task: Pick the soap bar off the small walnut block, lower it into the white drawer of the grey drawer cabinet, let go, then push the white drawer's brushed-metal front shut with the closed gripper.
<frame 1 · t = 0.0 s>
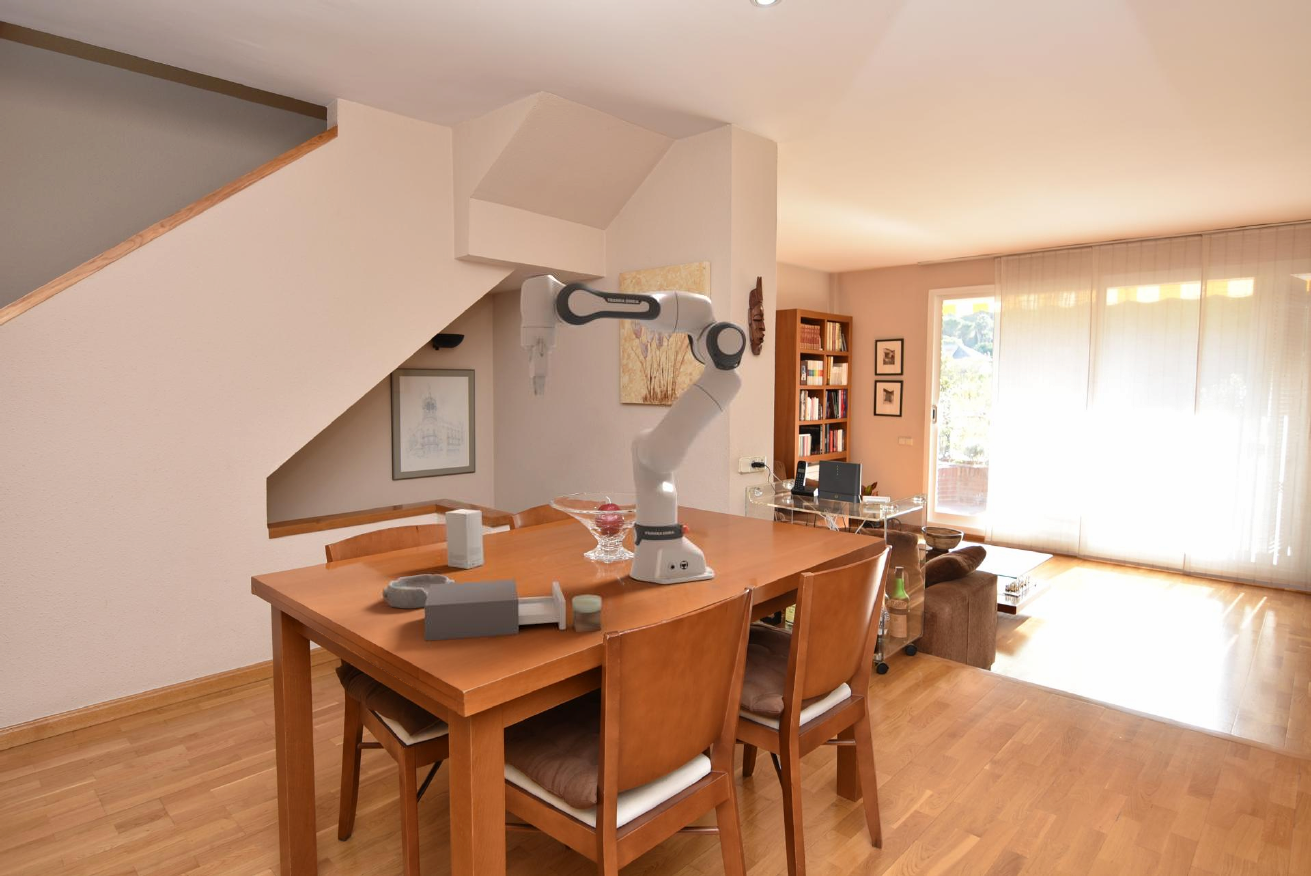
hand: (538, 395, 181), 48 cm above the table, fingers open, 8 cm apart
skincare box: (464, 566, 202), on the table
white drawer: (519, 607, 152), point 3 cm above the table, slide at 8.0 cm
grey drawer cabinet: (473, 624, 150), on the table
walnut block: (586, 627, 149), on the table
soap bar: (586, 608, 148), point 4 cm above the table, touching walnut block
dish: (417, 602, 167), on the table
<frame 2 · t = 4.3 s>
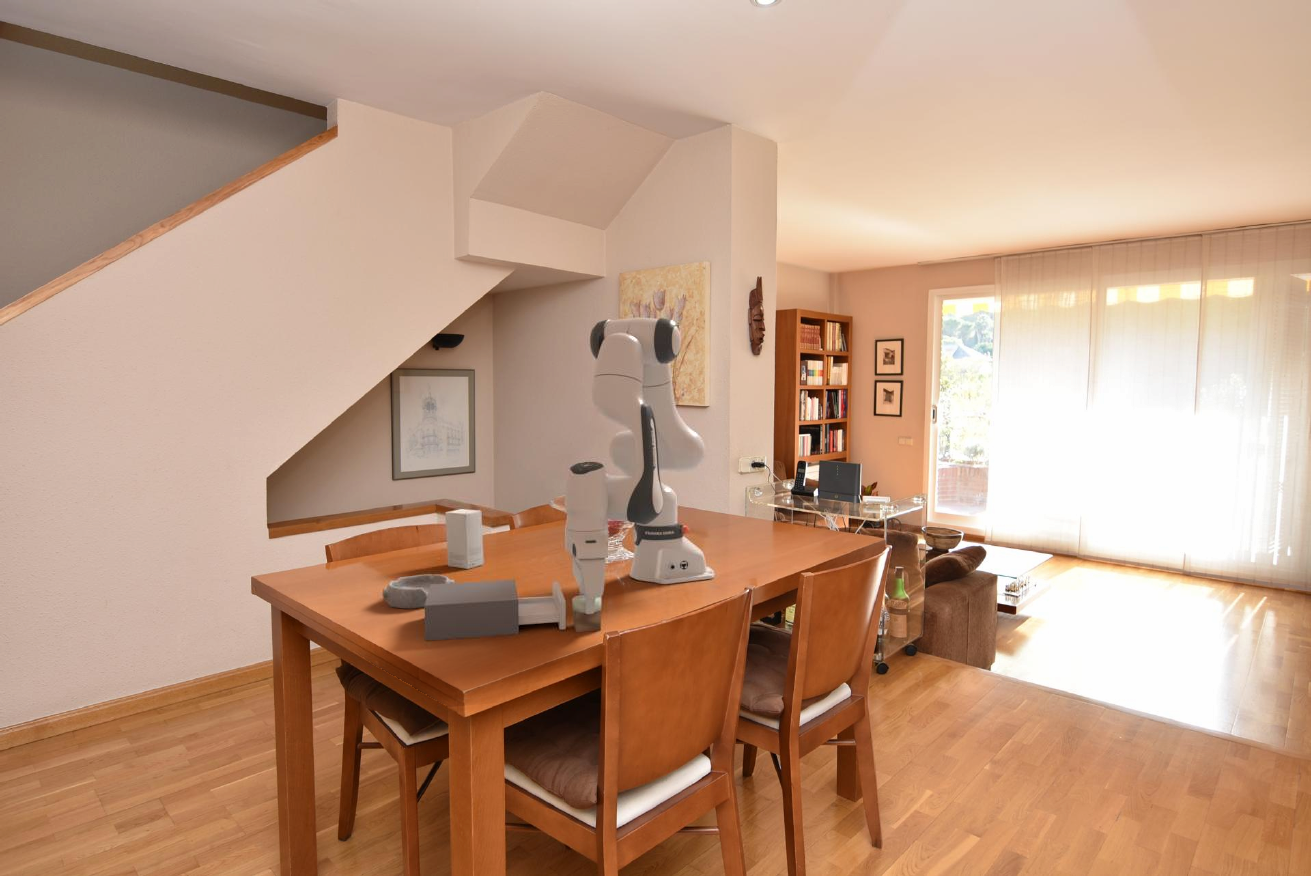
hand: (586, 607, 148), 4 cm above the table, fingers closed on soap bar, 6 cm apart
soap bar: (586, 608, 148), point 4 cm above the table, touching gripper, walnut block
everything else where it was.
when the fingers open (4 cm above the table, at t = 8.4 s): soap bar drops 2 cm, resting on white drawer.
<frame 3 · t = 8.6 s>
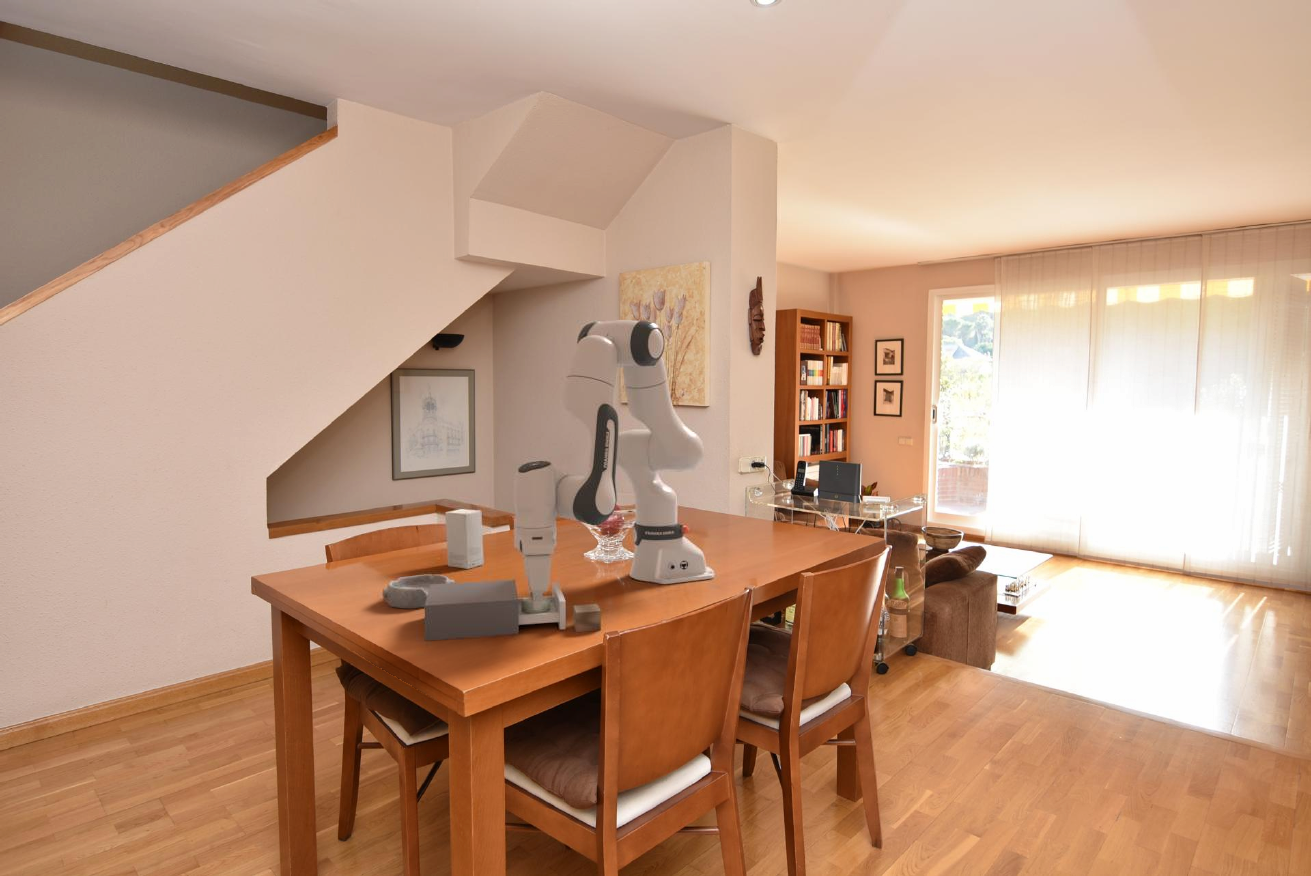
hand: (535, 602, 153), 4 cm above the table, fingers open, 8 cm apart
white drawer: (519, 607, 152), point 3 cm above the table, slide at 8.0 cm, touching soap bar
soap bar: (535, 610, 153), point 2 cm above the table, touching white drawer
everything else where it was.
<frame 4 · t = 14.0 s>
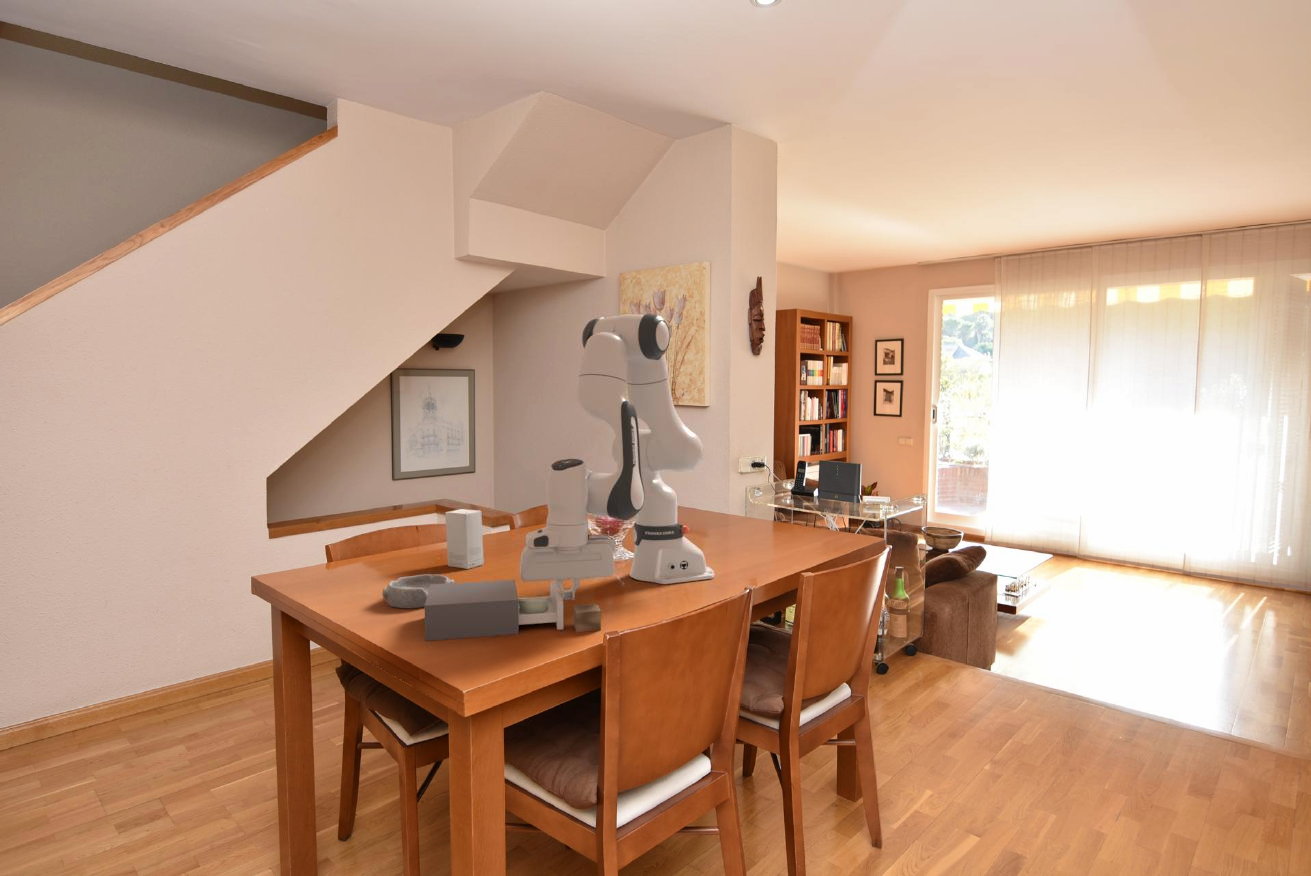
hand: (567, 599, 154), 4 cm above the table, fingers closed
white drawer: (517, 607, 152), point 3 cm above the table, slide at 7.5 cm, touching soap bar, gripper
everything else where it was.
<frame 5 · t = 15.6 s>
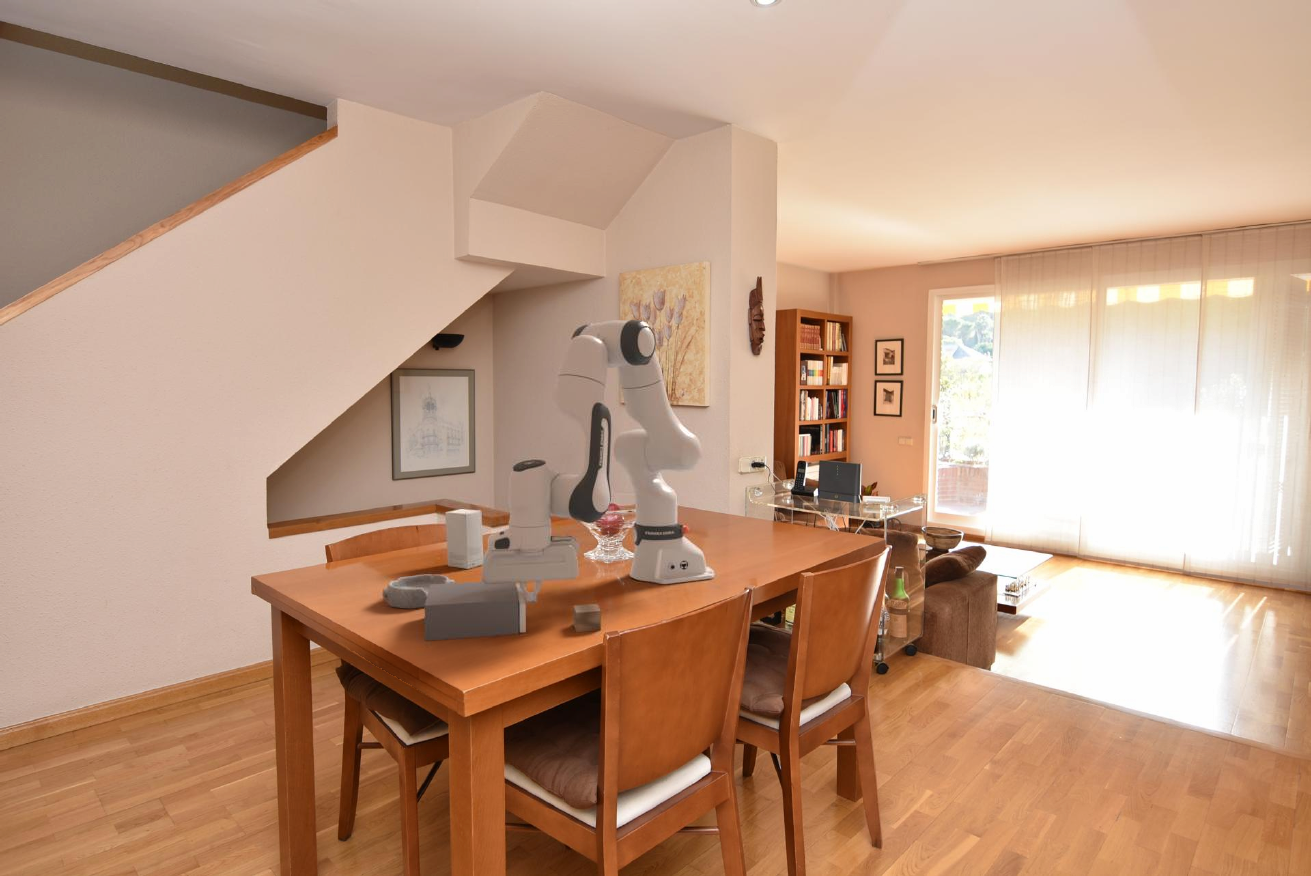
hand: (530, 601, 152), 4 cm above the table, fingers closed
white drawer: (480, 609, 150), point 3 cm above the table, slide at -0.1 cm, touching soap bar, gripper
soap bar: (497, 612, 151), point 2 cm above the table, touching white drawer
everything else where it was.
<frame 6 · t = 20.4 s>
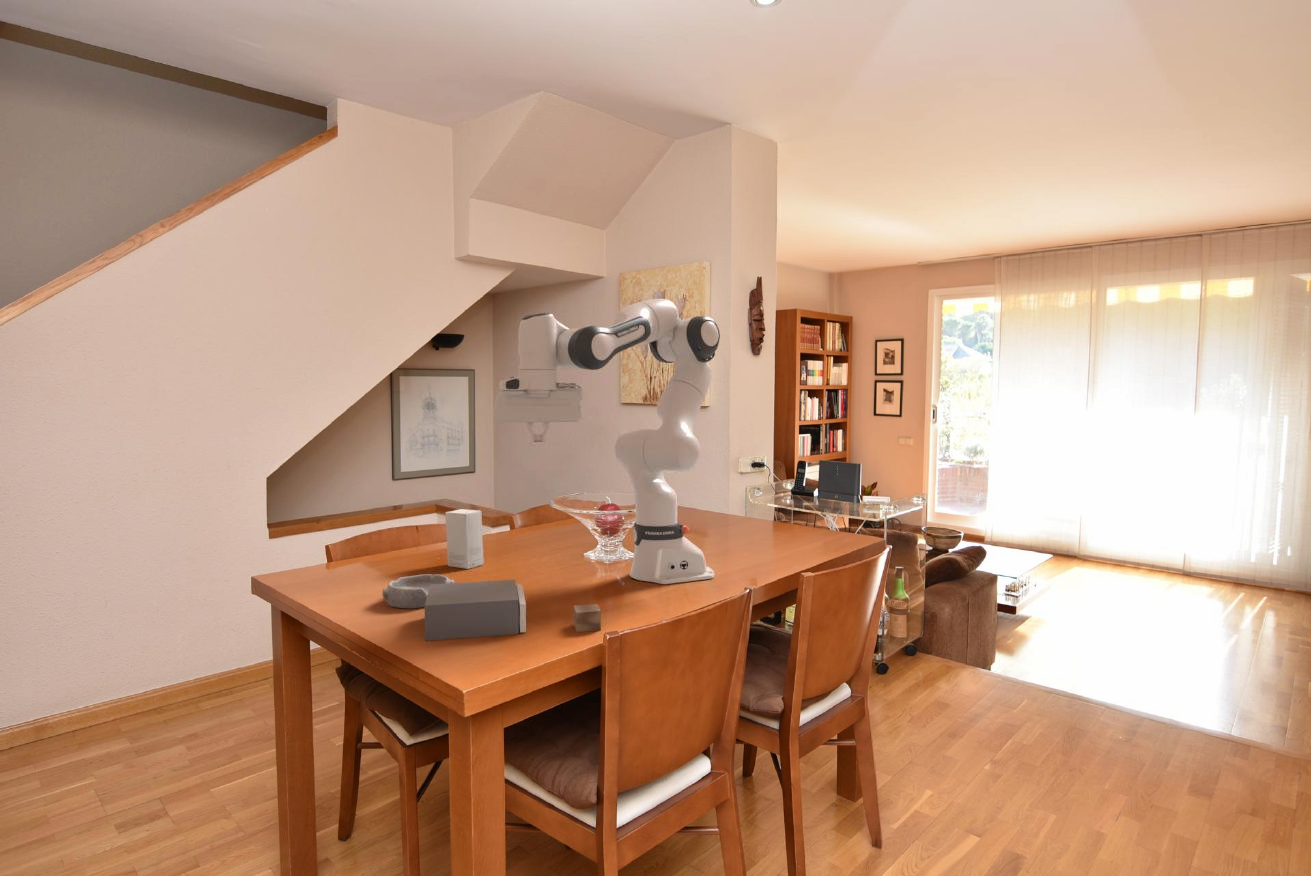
hand: (538, 441, 168), 37 cm above the table, fingers closed
white drawer: (481, 609, 150), point 3 cm above the table, slide at 0.0 cm, touching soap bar
everything else where it was.
at the end: white drawer slide at 0.0 cm; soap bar inside the target area on the grey drawer cabinet (5.0 cm from its centre), point 2.3 cm above the grey drawer cabinet's base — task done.
